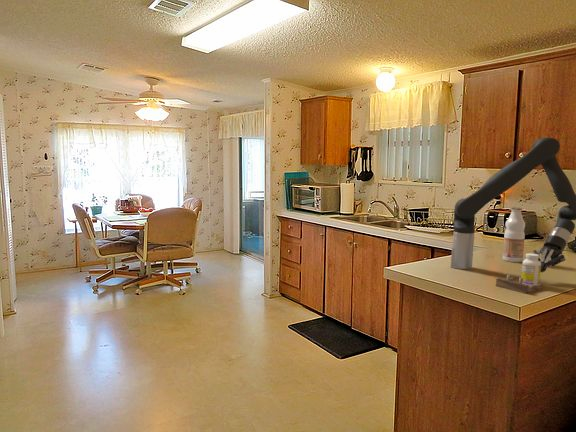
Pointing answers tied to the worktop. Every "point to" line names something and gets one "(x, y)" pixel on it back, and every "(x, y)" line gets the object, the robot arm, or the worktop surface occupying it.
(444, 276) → the worktop surface
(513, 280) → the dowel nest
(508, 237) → the fruit juice
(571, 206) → the robot arm
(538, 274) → the supplement bottle
